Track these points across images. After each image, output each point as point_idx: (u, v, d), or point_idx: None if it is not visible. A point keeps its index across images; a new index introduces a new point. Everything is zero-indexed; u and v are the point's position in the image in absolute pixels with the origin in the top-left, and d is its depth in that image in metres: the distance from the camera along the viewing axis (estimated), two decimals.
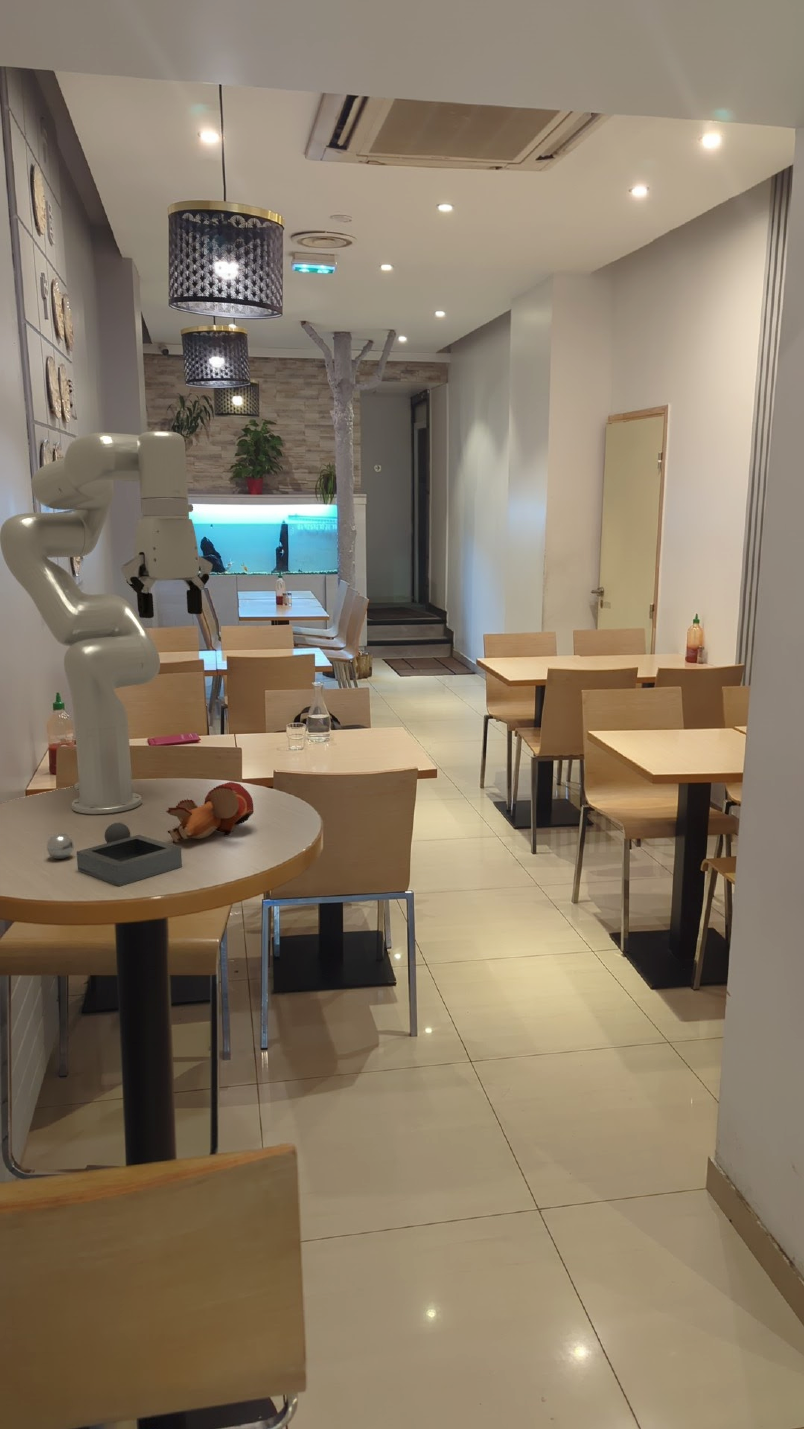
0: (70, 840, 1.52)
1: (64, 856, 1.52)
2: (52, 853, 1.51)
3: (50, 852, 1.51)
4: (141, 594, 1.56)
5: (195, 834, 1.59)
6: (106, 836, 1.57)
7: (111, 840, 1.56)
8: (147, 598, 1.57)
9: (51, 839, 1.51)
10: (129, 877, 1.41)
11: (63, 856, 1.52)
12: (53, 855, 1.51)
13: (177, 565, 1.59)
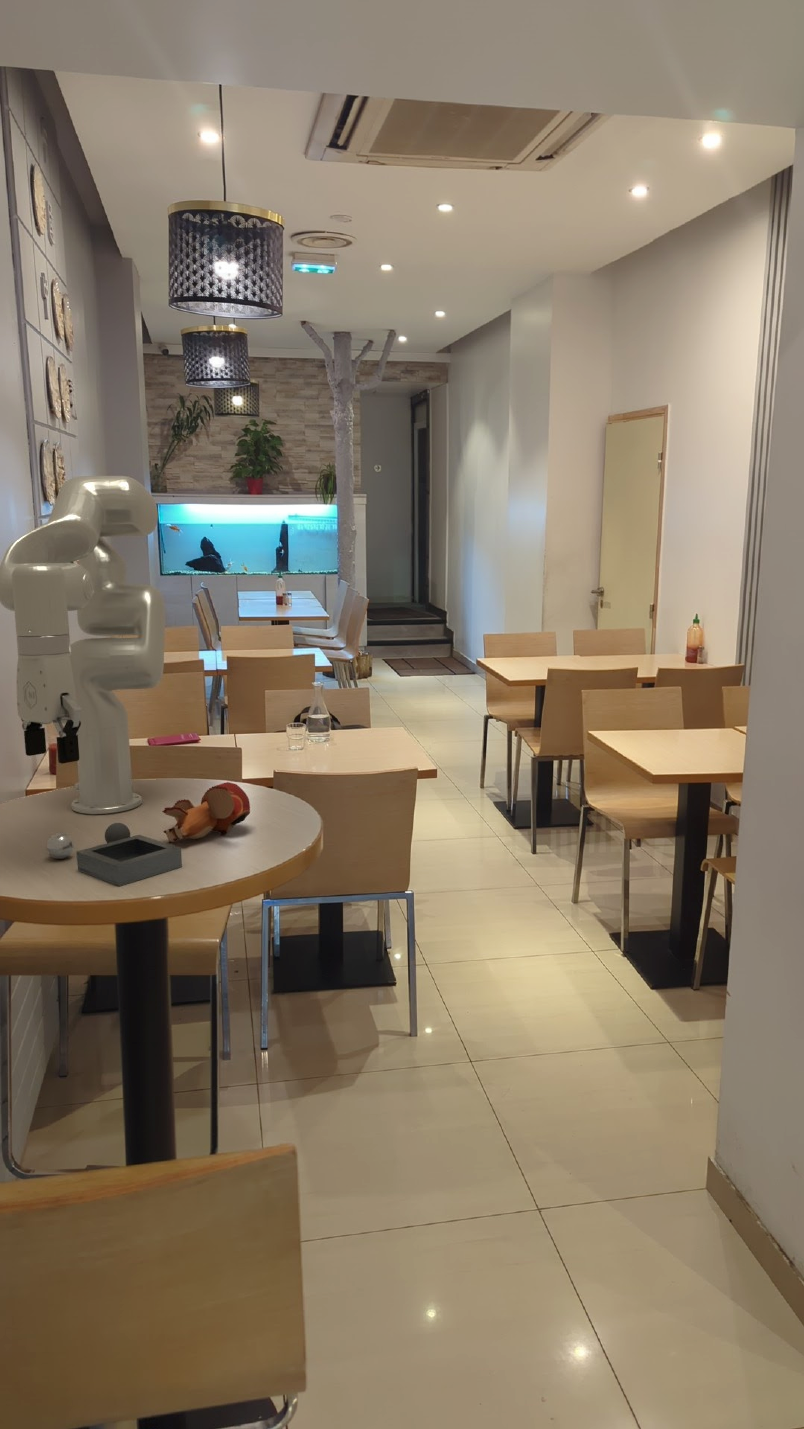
0: (70, 840, 1.52)
1: (64, 856, 1.52)
2: (52, 853, 1.51)
3: (50, 852, 1.51)
4: (73, 737, 1.46)
5: (191, 834, 1.59)
6: (106, 836, 1.57)
7: (111, 840, 1.56)
8: None
9: (51, 839, 1.51)
10: (129, 877, 1.41)
11: (63, 856, 1.52)
12: (53, 855, 1.51)
13: None
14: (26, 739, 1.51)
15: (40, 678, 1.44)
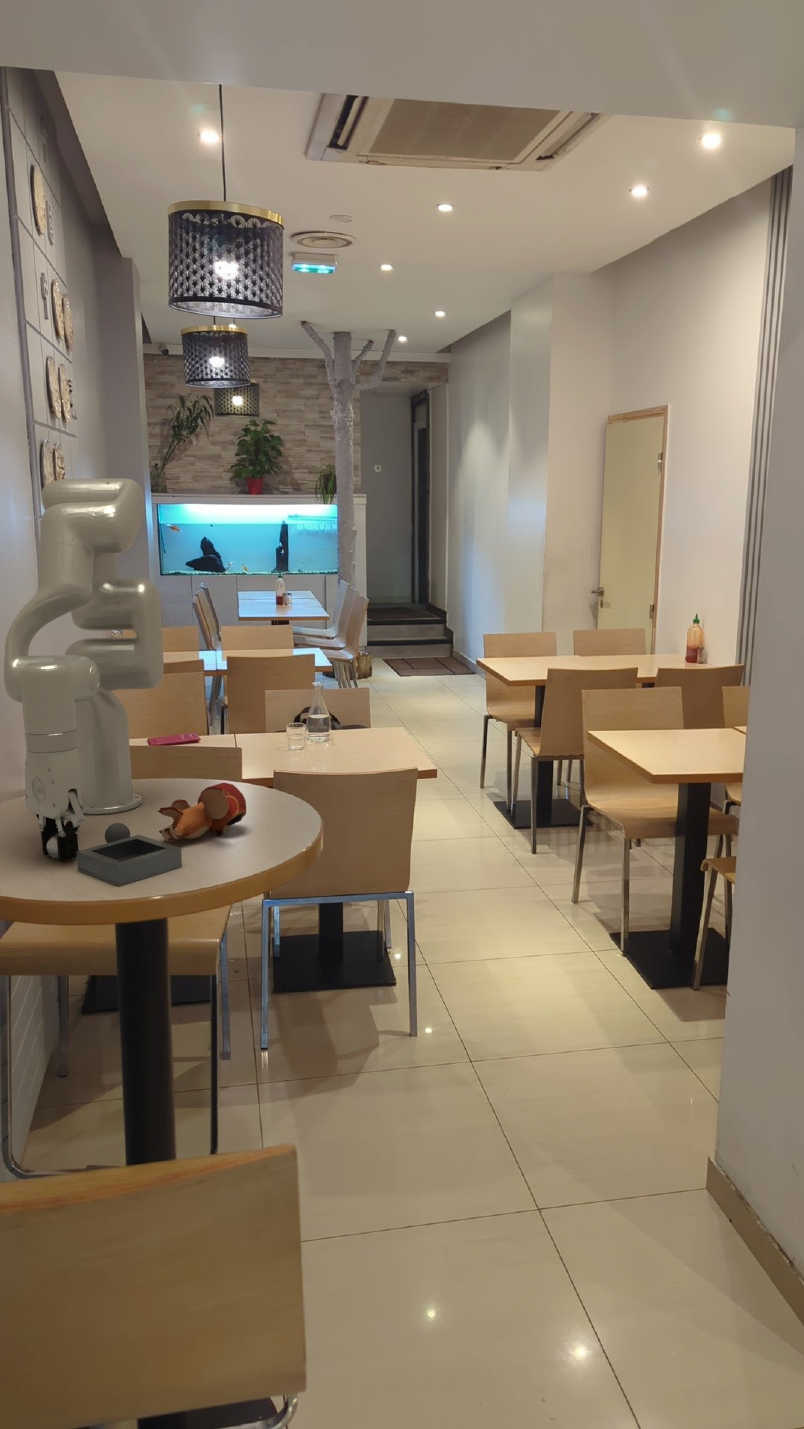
0: None
1: None
2: (52, 853, 1.51)
3: (50, 852, 1.51)
4: (73, 836, 1.51)
5: (186, 834, 1.59)
6: (106, 836, 1.57)
7: (111, 840, 1.56)
8: None
9: (51, 839, 1.51)
10: (129, 877, 1.41)
11: None
12: (53, 855, 1.51)
13: None
14: (43, 839, 1.53)
15: (48, 775, 1.47)
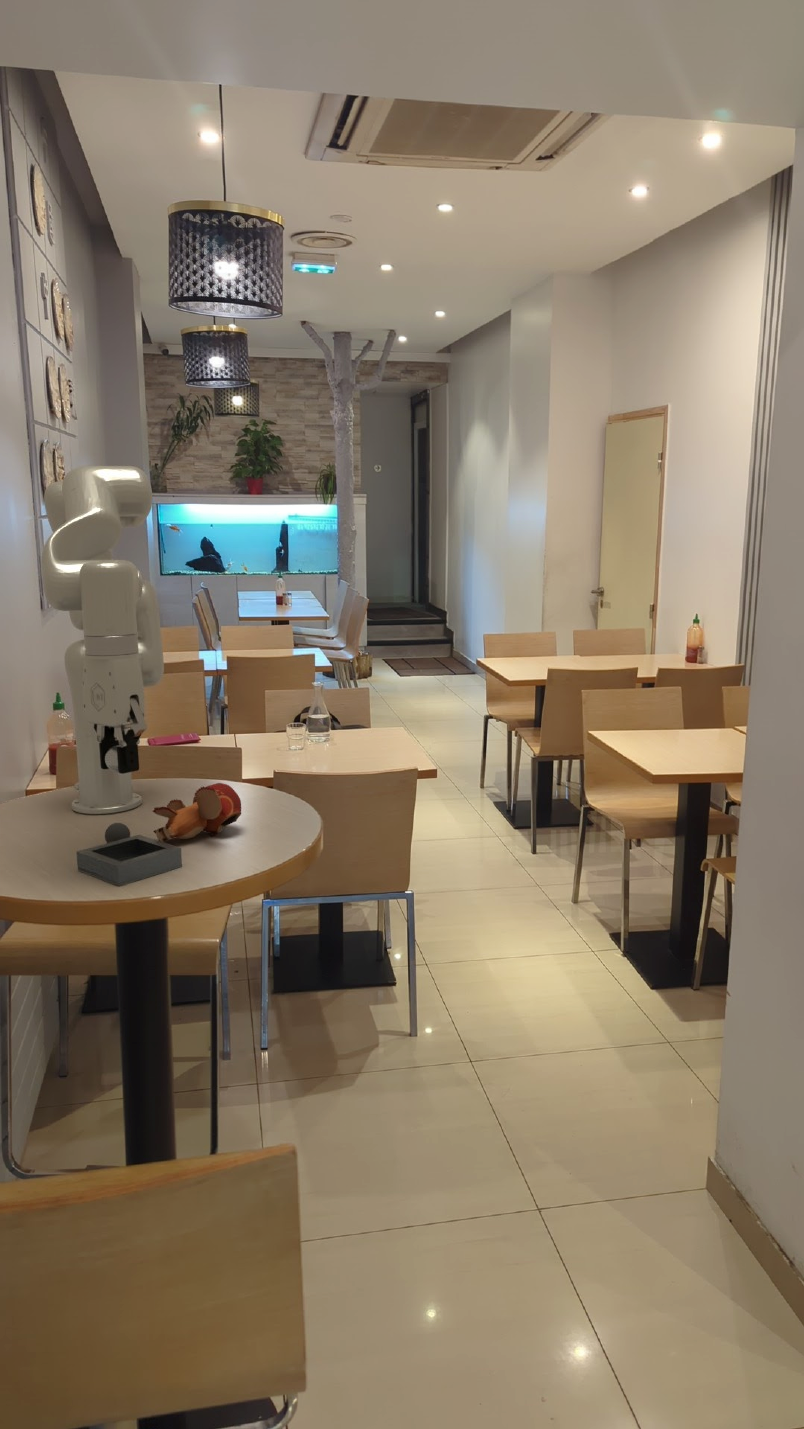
0: None
1: None
2: (111, 765, 1.43)
3: (109, 764, 1.43)
4: (133, 746, 1.43)
5: (180, 834, 1.59)
6: (106, 836, 1.57)
7: (111, 840, 1.56)
8: None
9: (110, 750, 1.43)
10: (129, 877, 1.41)
11: None
12: (112, 767, 1.43)
13: None
14: (101, 752, 1.45)
15: (109, 679, 1.39)
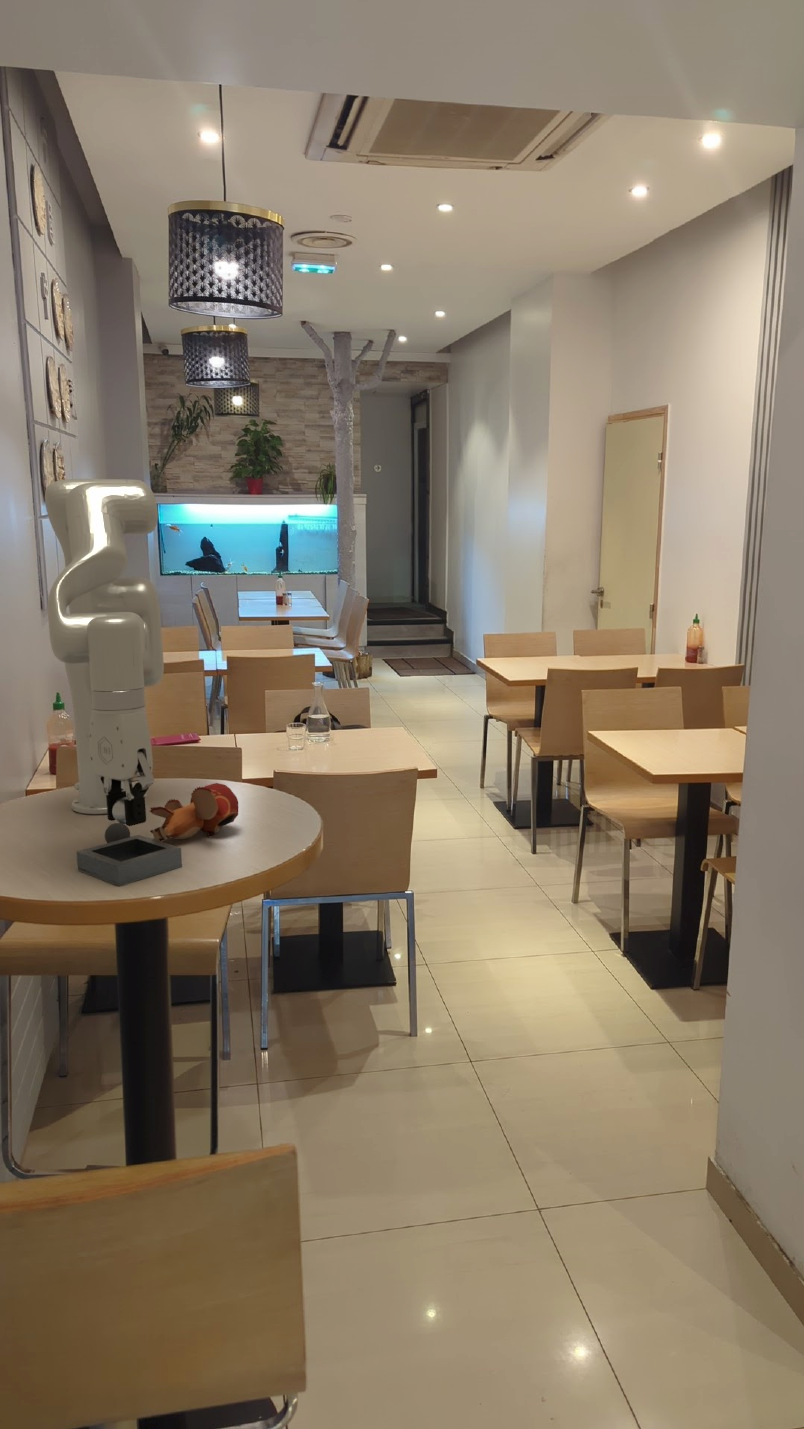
0: None
1: None
2: (118, 817, 1.44)
3: (116, 816, 1.44)
4: (140, 799, 1.44)
5: (176, 834, 1.59)
6: (106, 836, 1.57)
7: (111, 840, 1.56)
8: None
9: (117, 803, 1.44)
10: (129, 877, 1.41)
11: None
12: (119, 820, 1.44)
13: None
14: (108, 804, 1.46)
15: (117, 734, 1.40)
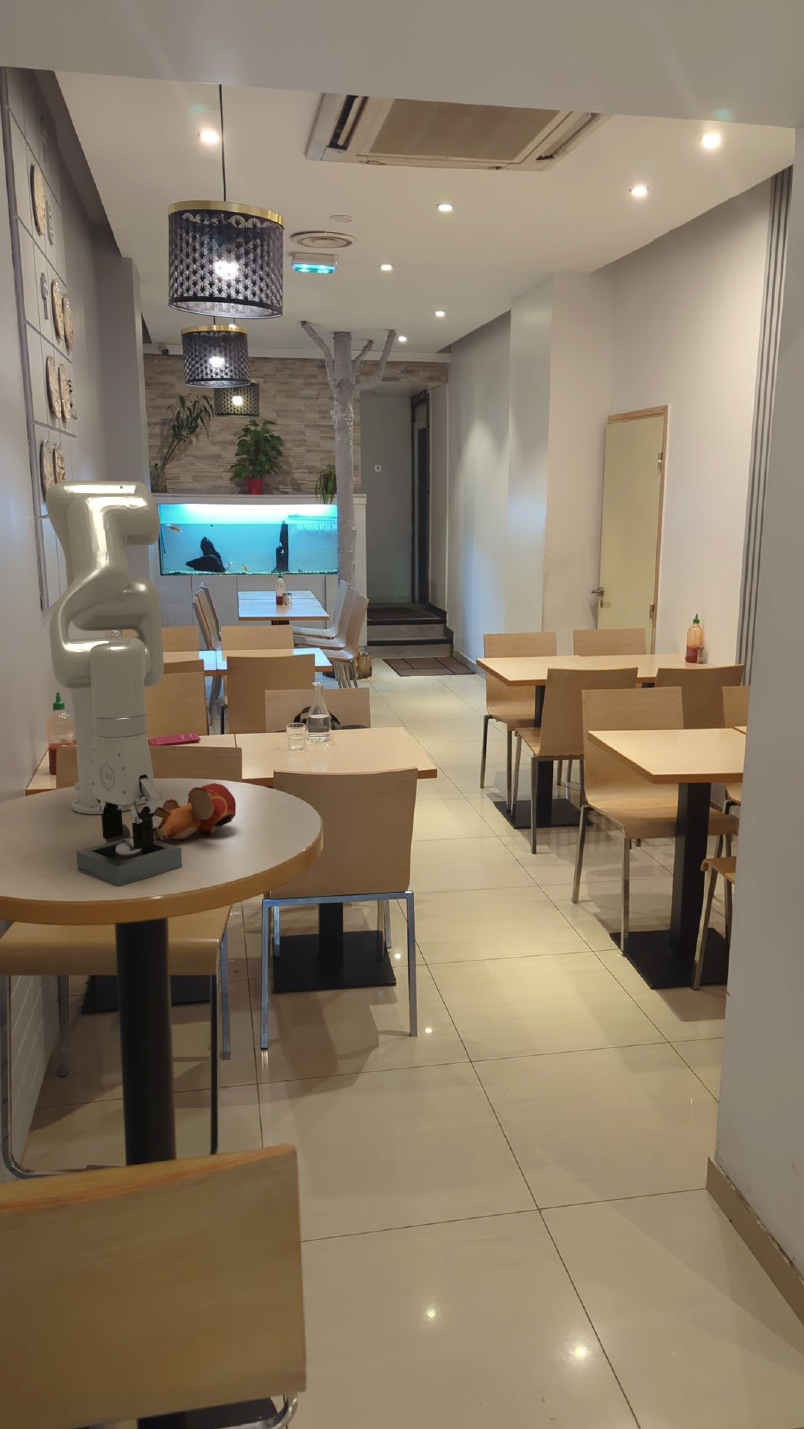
0: None
1: None
2: (121, 859, 1.45)
3: (119, 858, 1.46)
4: (148, 822, 1.43)
5: (173, 834, 1.59)
6: None
7: (111, 840, 1.56)
8: None
9: (120, 845, 1.46)
10: (129, 877, 1.41)
11: None
12: None
13: None
14: (104, 822, 1.48)
15: (118, 761, 1.41)
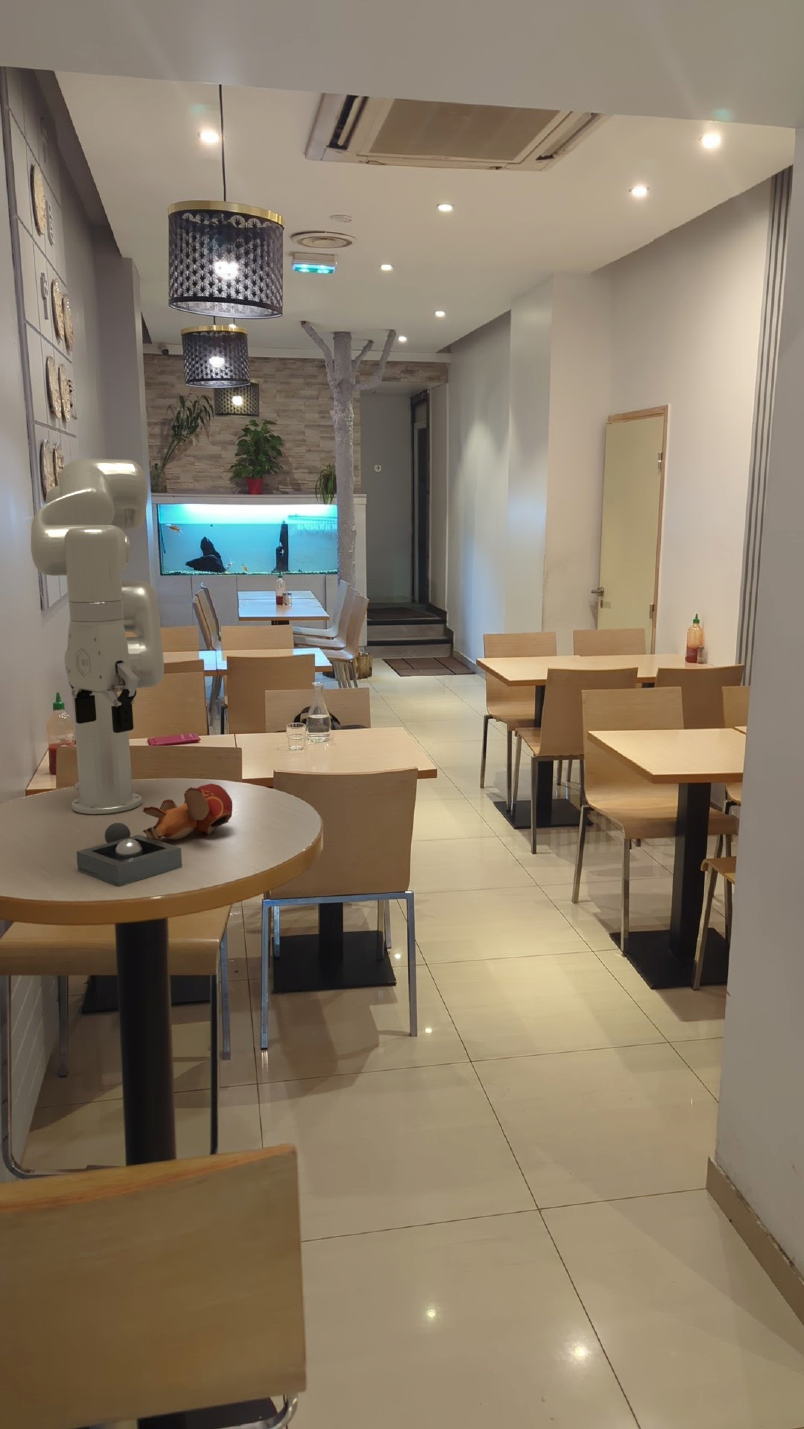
0: (139, 847, 1.47)
1: None
2: (121, 860, 1.45)
3: (119, 859, 1.46)
4: (128, 706, 1.42)
5: (168, 835, 1.59)
6: (106, 836, 1.57)
7: (111, 840, 1.56)
8: None
9: (120, 845, 1.46)
10: (129, 877, 1.41)
11: None
12: None
13: None
14: (77, 707, 1.48)
15: (95, 645, 1.40)
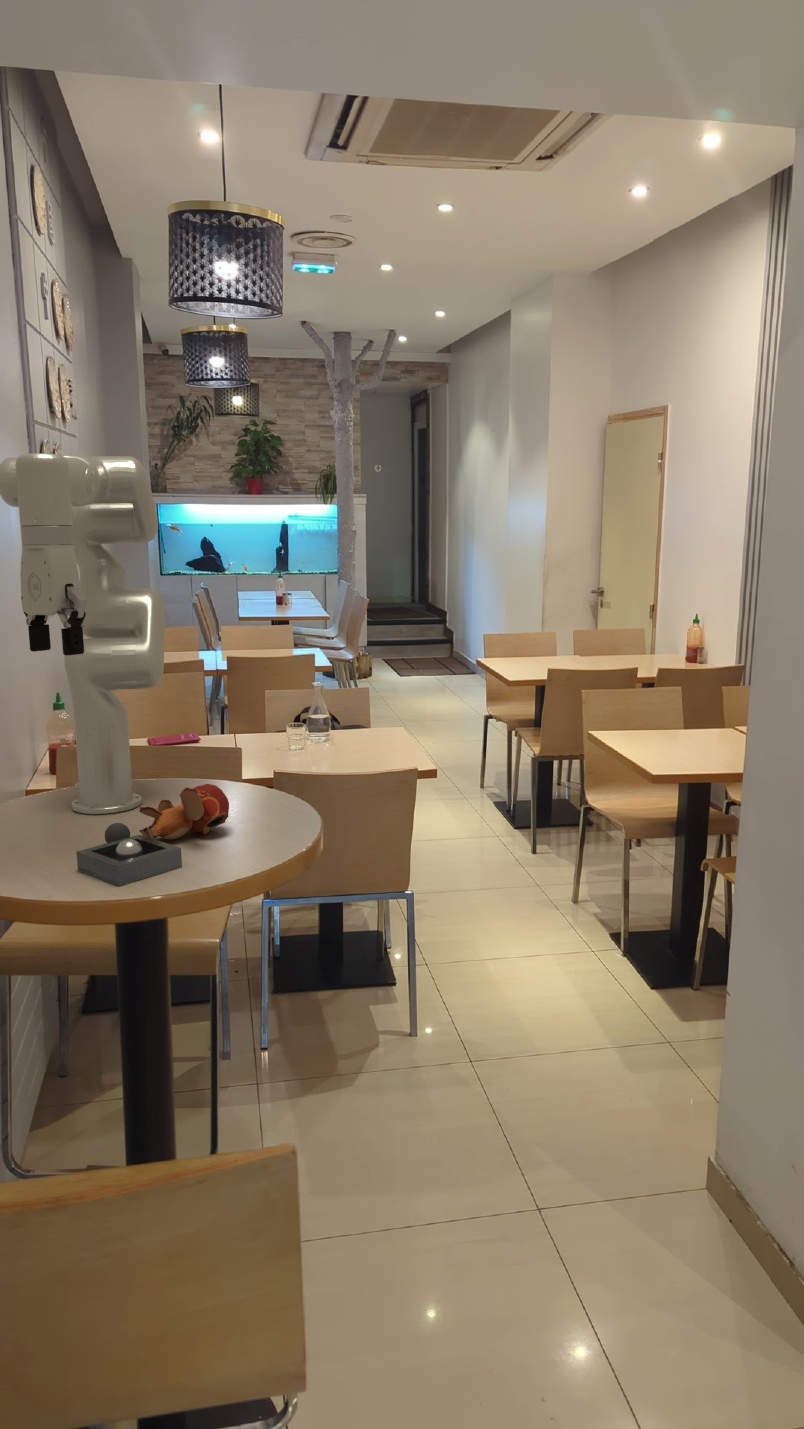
0: (140, 847, 1.47)
1: None
2: (121, 860, 1.45)
3: (119, 859, 1.46)
4: (78, 629, 1.45)
5: (164, 835, 1.59)
6: (106, 836, 1.57)
7: (111, 840, 1.56)
8: None
9: (121, 846, 1.46)
10: (129, 877, 1.41)
11: None
12: None
13: None
14: (30, 634, 1.50)
15: (44, 568, 1.43)
